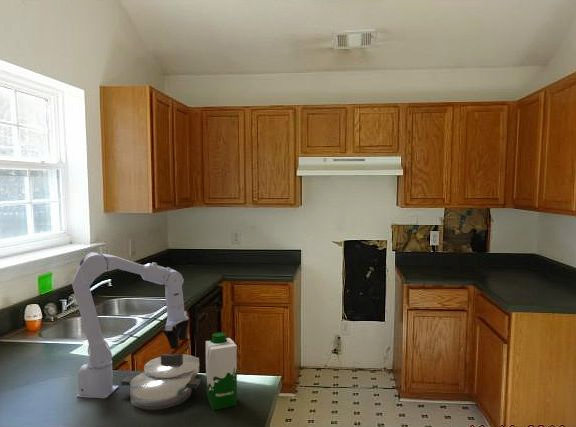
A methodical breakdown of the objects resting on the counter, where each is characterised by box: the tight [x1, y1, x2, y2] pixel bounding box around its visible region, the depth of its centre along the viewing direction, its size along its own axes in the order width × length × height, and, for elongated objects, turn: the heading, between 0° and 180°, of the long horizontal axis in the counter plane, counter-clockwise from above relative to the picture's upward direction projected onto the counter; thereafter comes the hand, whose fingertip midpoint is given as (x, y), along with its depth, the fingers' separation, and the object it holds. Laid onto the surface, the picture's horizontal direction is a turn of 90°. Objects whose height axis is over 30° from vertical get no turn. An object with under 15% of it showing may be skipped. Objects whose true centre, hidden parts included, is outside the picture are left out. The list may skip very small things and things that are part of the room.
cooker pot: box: [120, 357, 202, 410], centre depth 137 cm, size 24×28×5 cm
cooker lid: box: [143, 353, 200, 378], centre depth 141 cm, size 18×18×4 cm
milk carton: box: [205, 332, 238, 411], centre depth 127 cm, size 9×9×20 cm
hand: (178, 344), depth 146 cm, fingers open, 7 cm apart
